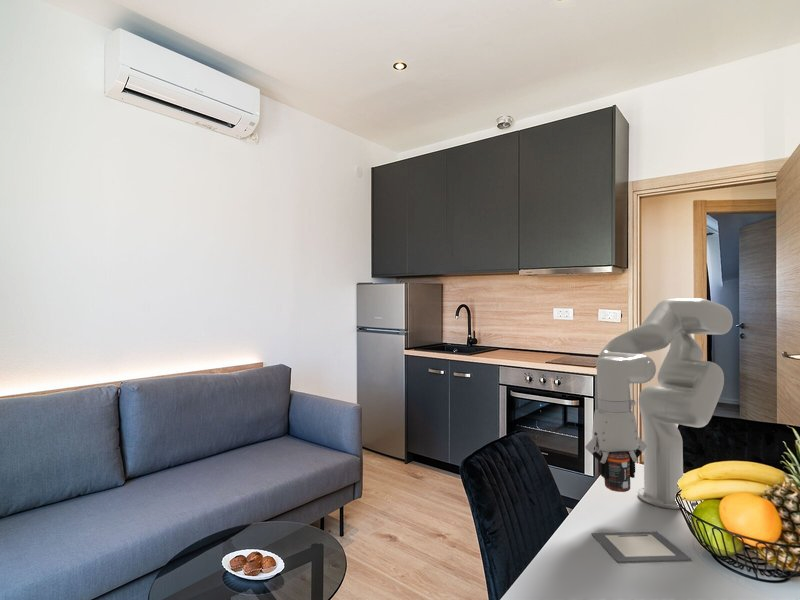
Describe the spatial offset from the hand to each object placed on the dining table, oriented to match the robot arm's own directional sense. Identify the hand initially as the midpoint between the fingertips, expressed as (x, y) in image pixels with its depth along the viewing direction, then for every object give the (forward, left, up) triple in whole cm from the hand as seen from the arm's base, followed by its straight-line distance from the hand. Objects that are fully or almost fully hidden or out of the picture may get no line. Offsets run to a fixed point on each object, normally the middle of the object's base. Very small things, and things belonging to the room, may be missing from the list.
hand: (617, 475), depth 113 cm
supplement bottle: (0, 0, -3) cm, 3 cm away
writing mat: (+2, +12, -11) cm, 17 cm away
